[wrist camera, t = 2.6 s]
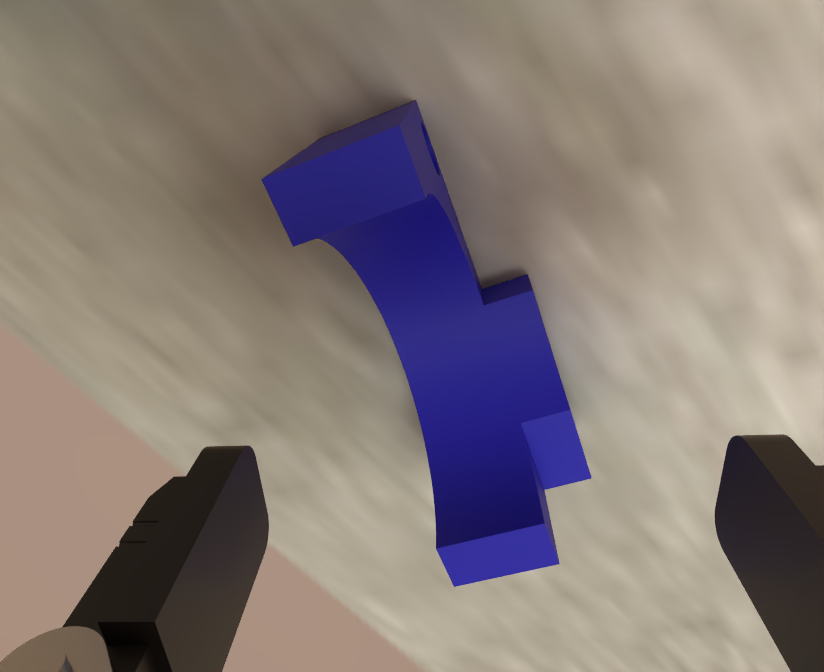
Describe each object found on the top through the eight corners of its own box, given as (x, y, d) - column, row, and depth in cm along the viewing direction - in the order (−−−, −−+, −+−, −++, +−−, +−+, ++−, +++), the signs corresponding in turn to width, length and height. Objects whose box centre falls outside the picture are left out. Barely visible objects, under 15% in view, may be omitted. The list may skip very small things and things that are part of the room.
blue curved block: (573, 423, 21) (615, 551, 16) (453, 455, 22) (454, 586, 17) (466, 79, 17) (473, 95, 11) (320, 137, 17) (261, 179, 12)
